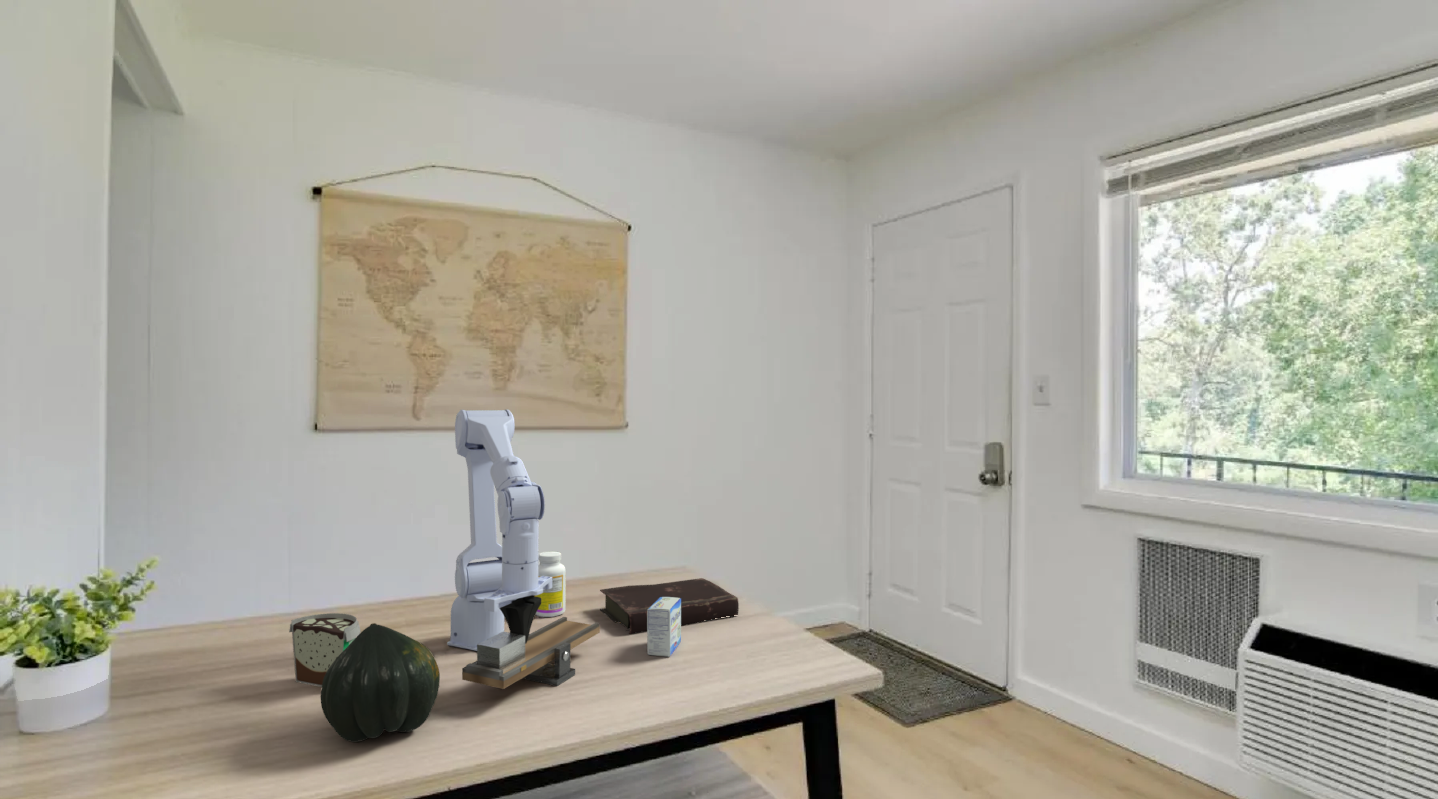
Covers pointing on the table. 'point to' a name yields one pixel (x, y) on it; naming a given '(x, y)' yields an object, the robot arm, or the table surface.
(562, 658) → the stand
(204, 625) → the table surface
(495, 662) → the block
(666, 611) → the medicine box
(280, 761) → the table surface
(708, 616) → the diary
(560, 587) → the supplement bottle
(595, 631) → the beam
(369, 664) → the squash
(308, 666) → the food container
